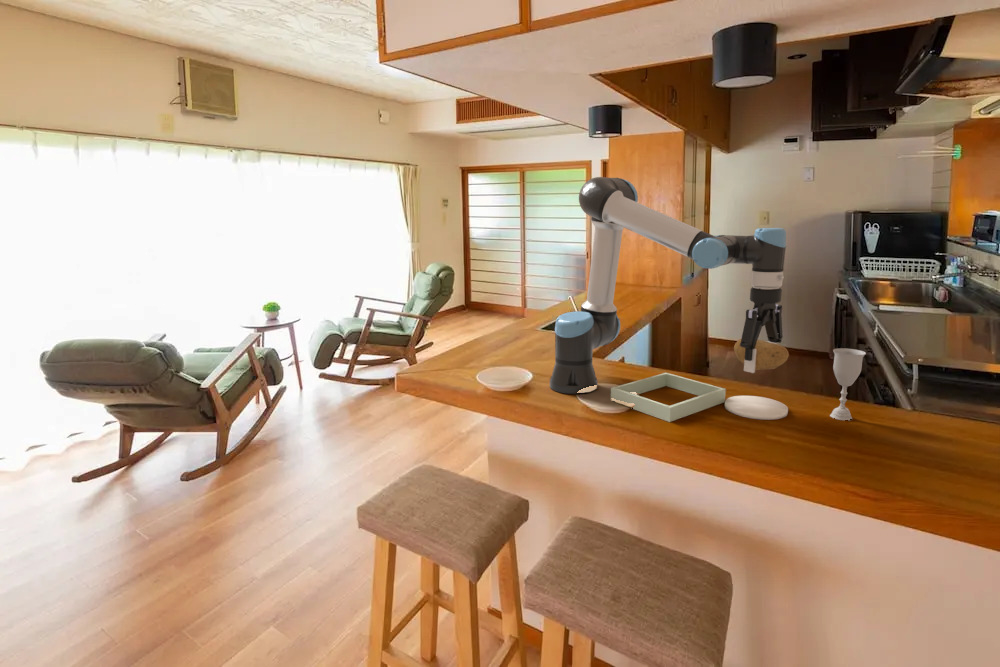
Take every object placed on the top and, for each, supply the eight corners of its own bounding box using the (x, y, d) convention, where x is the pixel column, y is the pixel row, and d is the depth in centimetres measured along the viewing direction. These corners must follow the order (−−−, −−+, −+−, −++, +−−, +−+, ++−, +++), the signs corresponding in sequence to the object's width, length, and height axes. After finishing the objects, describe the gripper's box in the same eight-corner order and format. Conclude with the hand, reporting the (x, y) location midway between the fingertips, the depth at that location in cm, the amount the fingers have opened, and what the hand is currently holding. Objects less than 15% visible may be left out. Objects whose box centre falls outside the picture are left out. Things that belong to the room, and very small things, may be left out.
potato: (777, 378, 142) (780, 348, 140) (726, 367, 153) (728, 339, 151) (793, 370, 148) (796, 341, 147) (743, 360, 159) (745, 333, 157)
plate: (712, 407, 155) (713, 403, 155) (744, 395, 164) (745, 392, 164) (767, 424, 142) (768, 420, 142) (799, 410, 151) (799, 406, 151)
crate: (610, 400, 162) (610, 388, 161) (665, 384, 176) (665, 372, 175) (669, 422, 145) (670, 407, 144) (724, 402, 159) (725, 388, 158)
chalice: (853, 413, 148) (861, 349, 144) (860, 423, 142) (869, 355, 138) (822, 411, 151) (830, 347, 147) (828, 420, 144) (836, 353, 140)
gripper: (756, 292, 136) (749, 379, 141) (801, 284, 149) (794, 364, 154) (729, 289, 142) (723, 372, 147) (774, 282, 155) (768, 358, 160)
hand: (759, 368), depth 150 cm, fingers closed on potato, 9 cm apart
